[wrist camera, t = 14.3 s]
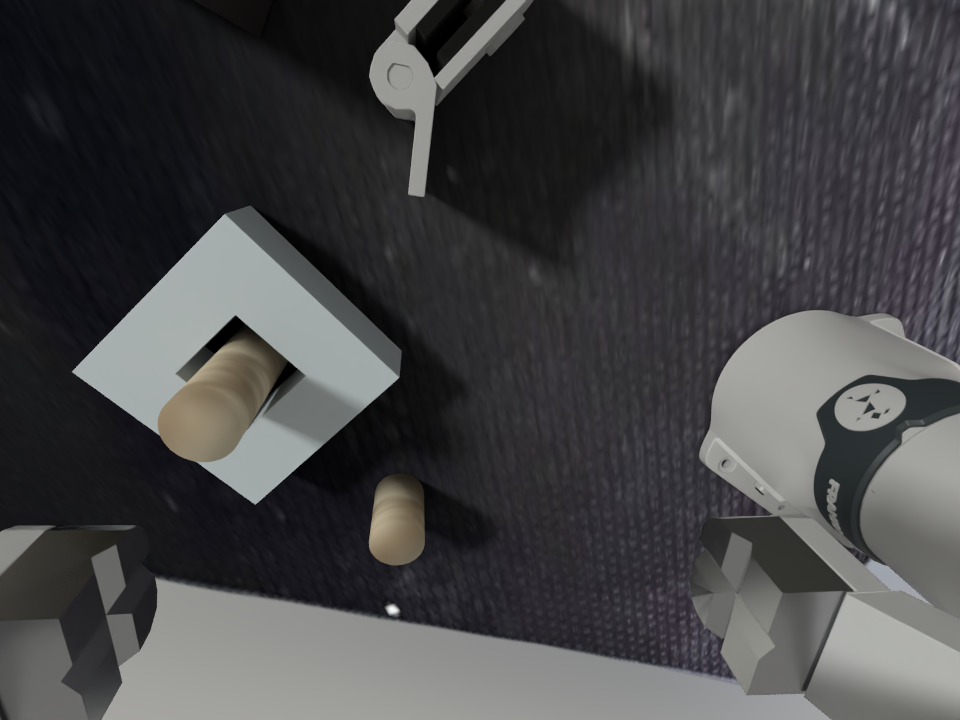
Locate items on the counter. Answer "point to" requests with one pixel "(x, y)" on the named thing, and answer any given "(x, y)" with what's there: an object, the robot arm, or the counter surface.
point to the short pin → (398, 520)
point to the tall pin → (221, 398)
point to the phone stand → (241, 12)
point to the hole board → (273, 316)
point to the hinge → (458, 45)
